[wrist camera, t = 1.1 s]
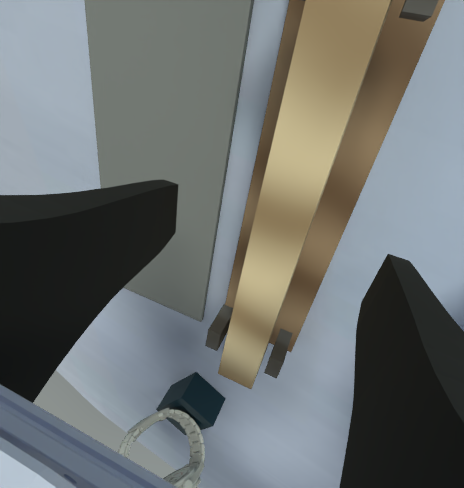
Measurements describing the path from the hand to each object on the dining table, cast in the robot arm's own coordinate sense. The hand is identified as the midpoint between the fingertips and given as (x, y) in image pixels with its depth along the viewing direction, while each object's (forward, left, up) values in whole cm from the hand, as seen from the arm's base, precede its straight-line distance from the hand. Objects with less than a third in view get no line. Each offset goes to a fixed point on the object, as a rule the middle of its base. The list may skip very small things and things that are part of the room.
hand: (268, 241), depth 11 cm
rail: (-1, +1, -6) cm, 6 cm away
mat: (+3, +10, -9) cm, 14 cm away
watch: (-23, +17, -10) cm, 30 cm away
